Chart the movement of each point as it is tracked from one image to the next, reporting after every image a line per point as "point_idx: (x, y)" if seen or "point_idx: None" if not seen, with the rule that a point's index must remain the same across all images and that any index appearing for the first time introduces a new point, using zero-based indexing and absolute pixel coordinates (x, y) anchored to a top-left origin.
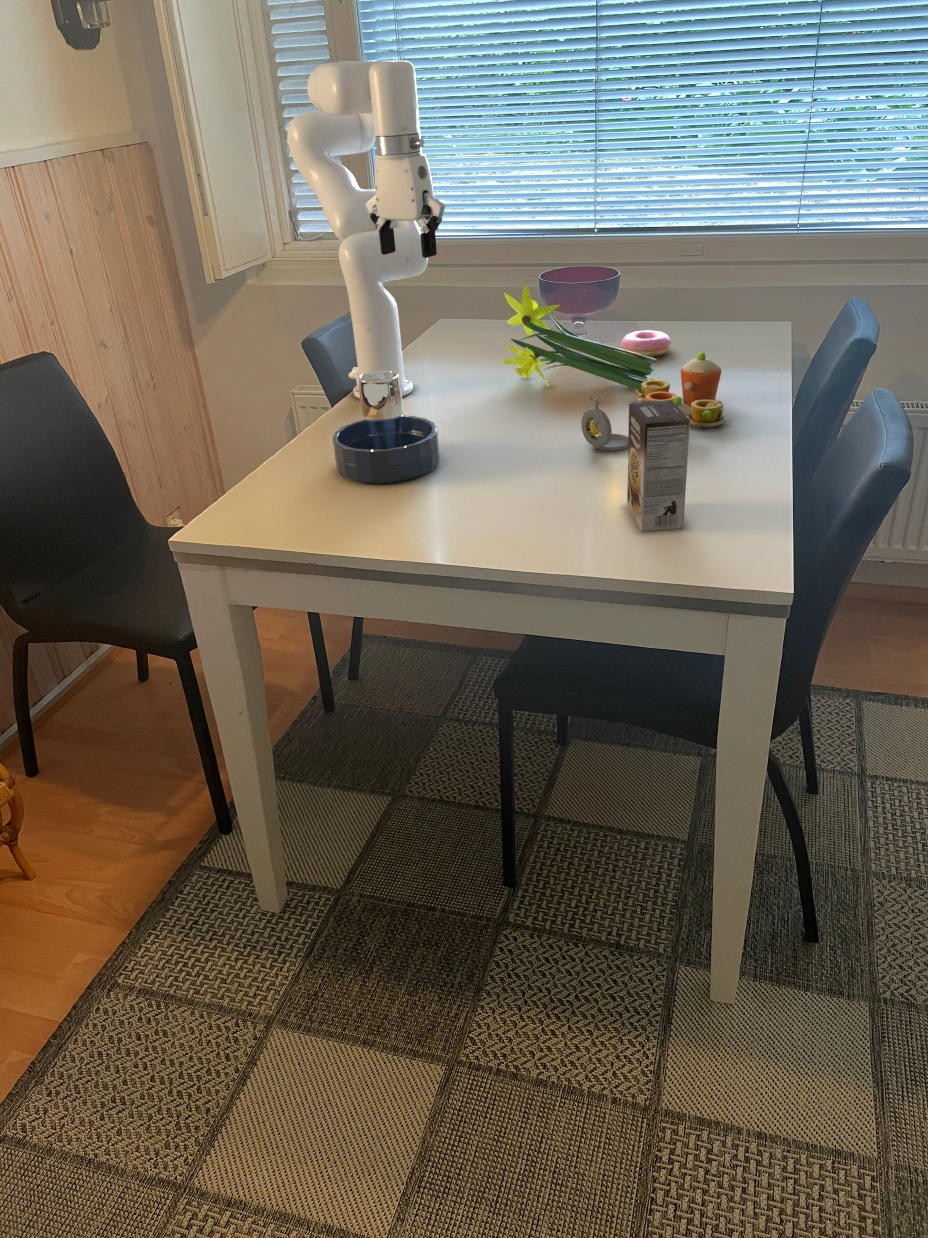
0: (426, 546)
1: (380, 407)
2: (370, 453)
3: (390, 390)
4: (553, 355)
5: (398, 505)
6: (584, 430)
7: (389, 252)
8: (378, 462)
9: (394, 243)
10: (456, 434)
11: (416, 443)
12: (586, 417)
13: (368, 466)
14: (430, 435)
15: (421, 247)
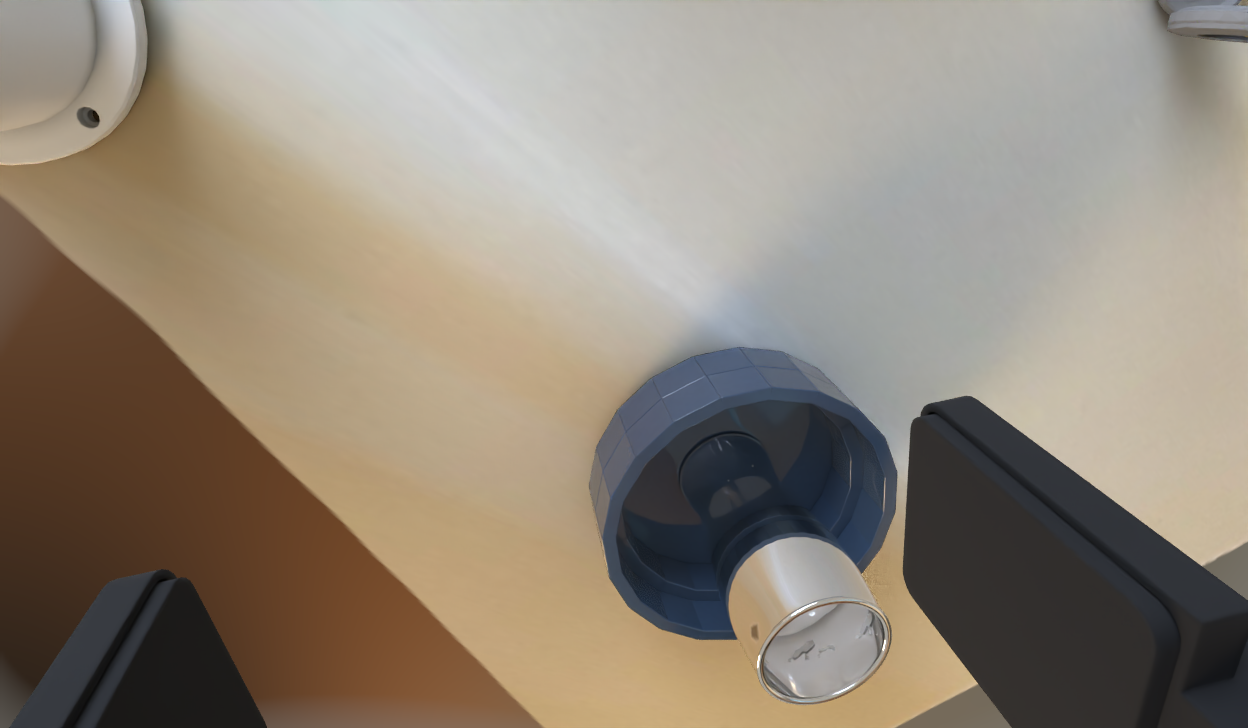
0: None
1: (832, 617)
2: None
3: (872, 622)
4: None
5: (899, 561)
6: (1189, 33)
7: (238, 673)
8: None
9: (139, 665)
10: (709, 193)
11: (889, 513)
12: (1241, 33)
13: None
14: (884, 459)
15: (967, 668)
